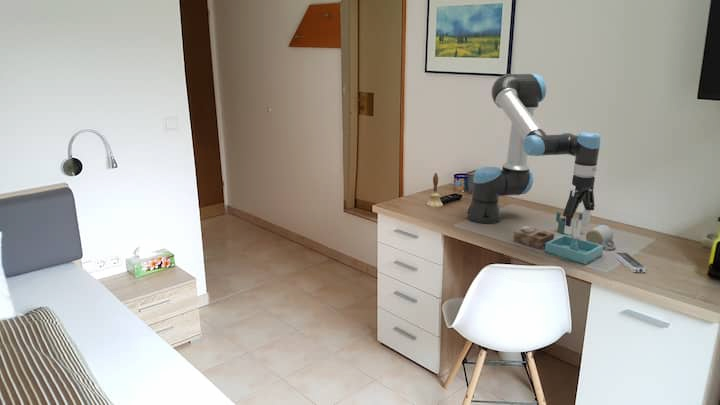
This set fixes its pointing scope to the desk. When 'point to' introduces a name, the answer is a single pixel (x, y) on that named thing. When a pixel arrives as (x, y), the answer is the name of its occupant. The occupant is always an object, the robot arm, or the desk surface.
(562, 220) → the bracket
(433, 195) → the hand bell
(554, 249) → the tray
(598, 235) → the ceramic mug
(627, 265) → the multiport hub
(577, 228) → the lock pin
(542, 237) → the brown wooden block
